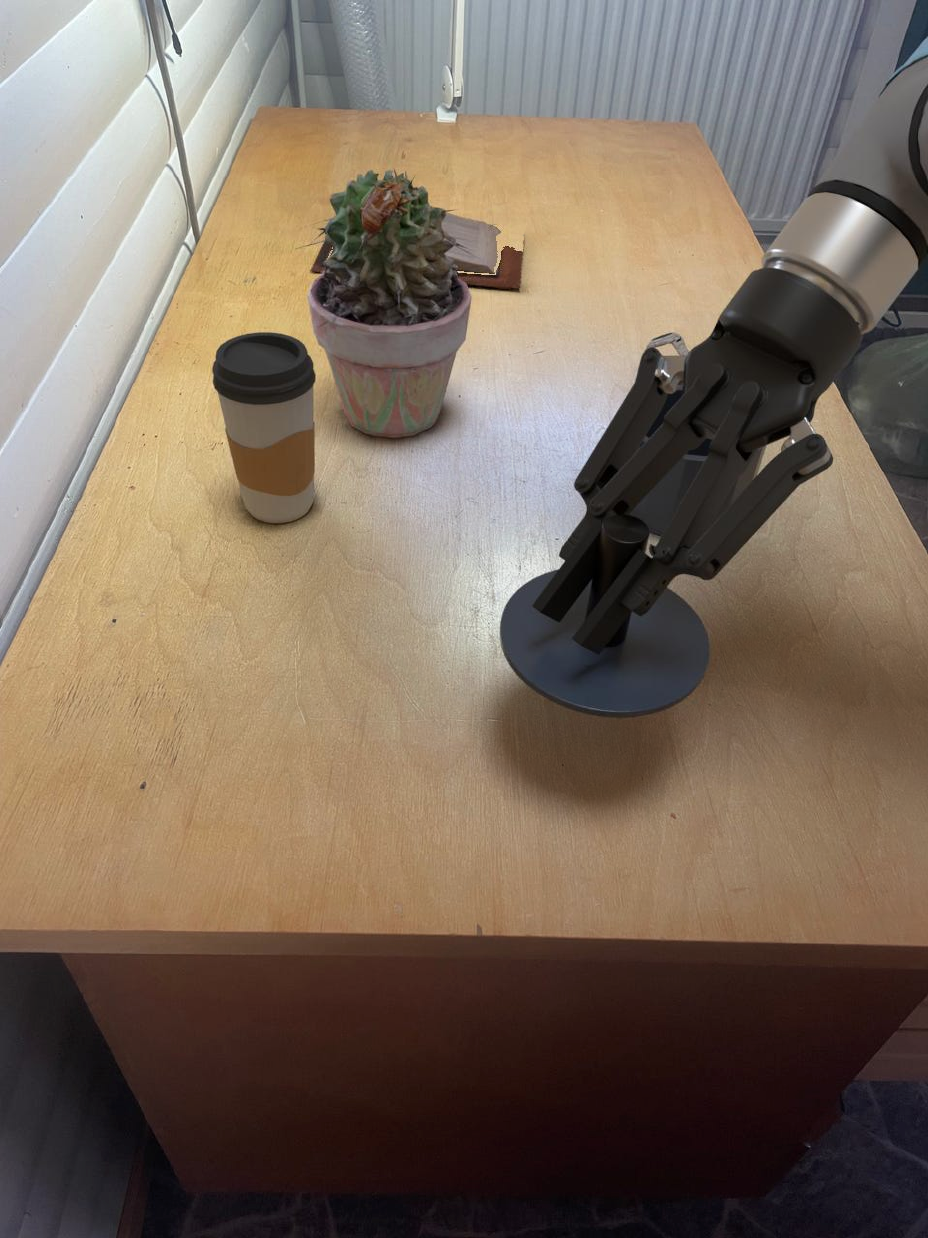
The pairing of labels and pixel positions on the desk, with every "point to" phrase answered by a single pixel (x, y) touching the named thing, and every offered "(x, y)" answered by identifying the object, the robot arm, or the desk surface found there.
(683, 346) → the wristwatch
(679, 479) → the pot
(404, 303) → the potted plant
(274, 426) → the coffee cup
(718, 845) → the desk surface
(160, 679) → the desk surface
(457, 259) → the book
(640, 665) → the lid
